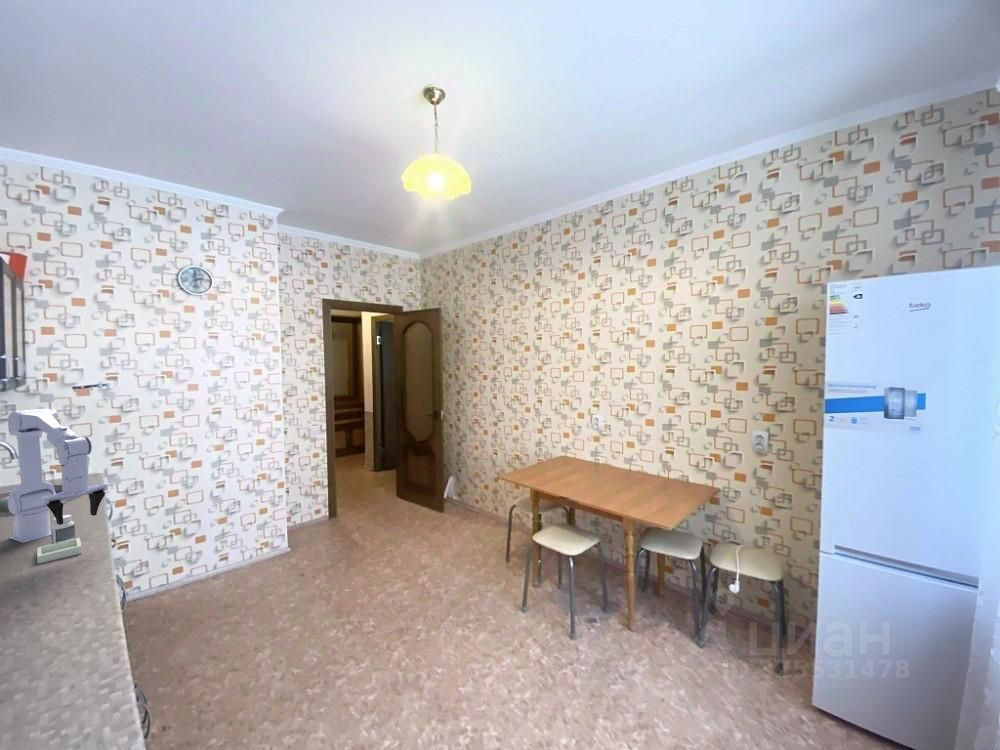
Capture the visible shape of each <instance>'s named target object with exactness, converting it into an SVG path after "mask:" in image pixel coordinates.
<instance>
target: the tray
mask: <svg viewBox="0 0 1000 750" xmlns="http://www.w3.org/2000/svg"><path fill="white" fill-rule="evenodd" d="M36 553H37V554H36V555H37V556H36V558H37V561H36V562H37V564H41V563H47V562H50V561H55V560H59V559H63V558H68V557H71V556H75V555H79V554H82V553H83V552H82V542H81V538H80V537H77V538H76V537H75V539H71V540H67V541H63V542H58V543H54V544H52V543H51V544H47V545H46V544H45V545H43V546H38V547H37V552H36Z"/></svg>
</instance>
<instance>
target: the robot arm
mask: <svg viewBox="0 0 1000 750" xmlns="http://www.w3.org/2000/svg"><path fill="white" fill-rule="evenodd" d="M58 421H59V414H58V411H57V410H56V409H55V408H53V407H48V408H37V409H27V410H26V409H25V410H12V411H11V412H10V413H9V414H8V417H7V425H8V433H9V435H10V436H15V437H16V440H17V450H18V459H19V460H18V461H19V471H20V473H19V474H20V484H19V485H17V486H16V487H14V488H13V489H12V490H11V491H9V494H8V500H7V508H8V510H9V513H10V514H12V515H14V517H13V521H12V523H13V524H12V525H13V536H10V537H9V539H12V540H14V541H17V542H20V543H28V542H31V540H32V541H35V540H39V539H42V538H46V537H48V536H51V518H50V516H51V515H50V512H51V513H52V514H53V516H54V518H56V521H57V524H59V525H61V524H63V515H64V514H63V511H64V503H62V501H63V500H67V499H73V498H77V497H81V496H86V495H88V497H89V507H90V509H89V512H90V516H93V517H95V516H97V515H98V510H99V507H100V504H101V503H102V501H103V498H104V497H105V496H106V491H108V490H109V489H108V488H109V485H108V484H107V483H102V484H96V485H90V482H89V461H88V460H89V459H88V457H89V455H90V454H91V453H92V449H93V446H92V442H91V440H90V438H89V437H88V436H79V435H78V434H76V433H75V432H74V431H73V430H72V429H71V428H69V427H67V426H62V425H61V424H60V423H59V422H58ZM43 433H45V434H46V440H47V441H48V442H49V443H50V444H51V445H52V446H53V447H54V448H55V452H56V453H55V454H56V455H57V458H58V464H59V465H61V483H62V484H61V486H62V487H61V488H62V489H61V490H62V491H59V492H57V493H56V491H55V486H54V484H52V483H50V482H48V481H44V476H43V466H42V465H43V464H42V453H41V441H40V436H41V434H43Z"/></svg>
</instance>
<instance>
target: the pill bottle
mask: <svg viewBox="0 0 1000 750" xmlns="http://www.w3.org/2000/svg"><path fill="white" fill-rule="evenodd" d="M52 521H53V522H52V523H53V525H52V526H50V530H51V535H50V536H51V544H54V543H58V542H63V541H67V540H71V539H76V530H75V529H76V526H75V525H76V524H75V522H74V521H72V515H71V514H63V524H61V525H59V524H57V521H56V518H55V517H54V518H53V520H52Z"/></svg>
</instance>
